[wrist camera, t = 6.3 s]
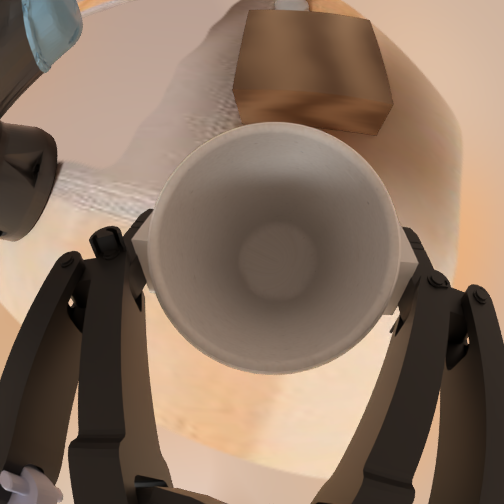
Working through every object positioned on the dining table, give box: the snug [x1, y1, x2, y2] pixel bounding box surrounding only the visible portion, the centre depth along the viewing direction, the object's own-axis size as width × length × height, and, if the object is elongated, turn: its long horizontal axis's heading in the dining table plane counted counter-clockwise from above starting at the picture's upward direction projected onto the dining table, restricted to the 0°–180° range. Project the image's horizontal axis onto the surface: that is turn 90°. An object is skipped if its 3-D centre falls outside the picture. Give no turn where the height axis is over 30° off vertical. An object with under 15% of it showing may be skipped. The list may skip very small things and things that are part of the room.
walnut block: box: [232, 10, 393, 136], centre depth 20 cm, size 12×12×5 cm
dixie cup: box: [147, 122, 401, 375], centre depth 13 cm, size 8×8×10 cm
